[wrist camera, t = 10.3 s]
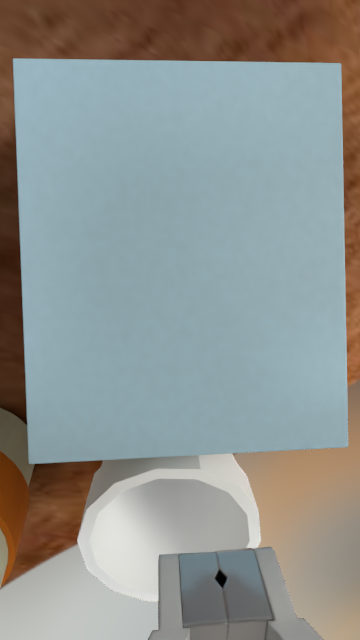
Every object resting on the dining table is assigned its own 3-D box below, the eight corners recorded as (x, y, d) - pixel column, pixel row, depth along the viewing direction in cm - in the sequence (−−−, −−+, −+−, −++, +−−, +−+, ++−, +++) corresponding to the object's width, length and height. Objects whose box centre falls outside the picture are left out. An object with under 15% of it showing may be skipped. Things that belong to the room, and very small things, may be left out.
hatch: (338, 440, 16) (348, 447, 15) (35, 456, 15) (27, 464, 14) (332, 76, 16) (341, 62, 15) (20, 72, 15) (12, 57, 14)
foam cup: (109, 442, 31) (78, 602, 19) (110, 349, 28) (75, 466, 16) (212, 445, 32) (247, 599, 20) (225, 355, 29) (276, 470, 16)
